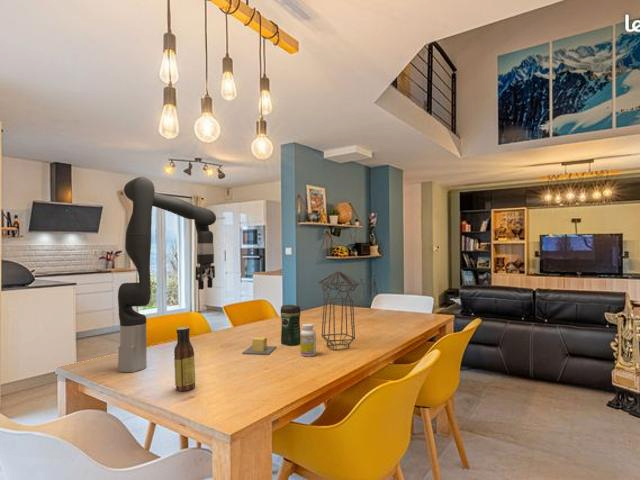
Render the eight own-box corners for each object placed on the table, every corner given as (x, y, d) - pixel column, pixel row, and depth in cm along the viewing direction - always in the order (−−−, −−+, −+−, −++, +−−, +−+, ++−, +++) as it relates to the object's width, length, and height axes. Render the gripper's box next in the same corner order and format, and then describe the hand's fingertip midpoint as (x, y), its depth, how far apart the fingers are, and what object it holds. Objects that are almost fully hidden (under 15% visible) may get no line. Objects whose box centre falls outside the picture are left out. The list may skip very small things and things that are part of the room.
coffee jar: (304, 343, 179) (303, 304, 180) (292, 346, 173) (291, 306, 174) (290, 340, 186) (289, 303, 186) (278, 343, 180) (277, 305, 180)
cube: (263, 351, 164) (263, 339, 165) (252, 350, 165) (252, 339, 165) (266, 348, 169) (266, 337, 170) (256, 347, 170) (256, 336, 170)
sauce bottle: (197, 384, 126) (197, 325, 126) (192, 391, 120) (191, 329, 120) (178, 385, 126) (177, 326, 126) (171, 392, 119) (171, 330, 120)
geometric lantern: (316, 345, 176) (316, 270, 177) (347, 342, 181) (346, 270, 183) (329, 353, 161) (329, 272, 163) (361, 350, 166) (361, 271, 168)
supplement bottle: (306, 351, 164) (305, 322, 165) (318, 353, 161) (318, 324, 161) (297, 355, 159) (297, 325, 159) (310, 357, 155) (310, 326, 155)
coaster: (268, 354, 160) (268, 353, 160) (242, 354, 162) (242, 352, 162) (276, 347, 172) (276, 346, 172) (251, 346, 174) (251, 345, 174)
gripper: (205, 253, 165) (205, 290, 164) (219, 253, 179) (220, 287, 178) (190, 253, 166) (190, 290, 166) (205, 253, 180) (205, 287, 180)
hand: (205, 288), depth 172 cm, fingers open, 8 cm apart
